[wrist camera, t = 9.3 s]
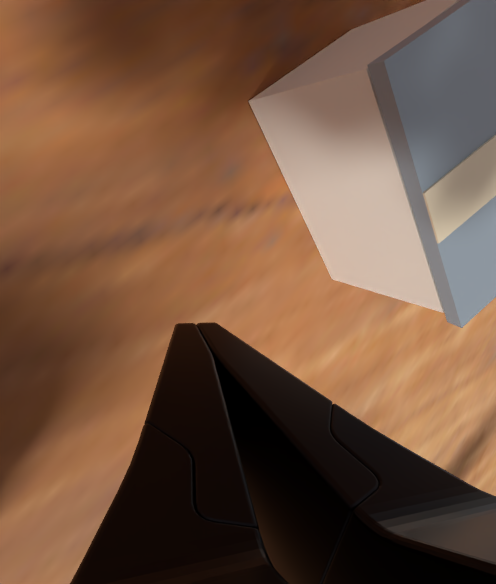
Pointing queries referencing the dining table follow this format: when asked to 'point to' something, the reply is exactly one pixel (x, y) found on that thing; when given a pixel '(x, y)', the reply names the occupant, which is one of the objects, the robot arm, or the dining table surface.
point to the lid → (448, 146)
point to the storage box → (351, 160)
